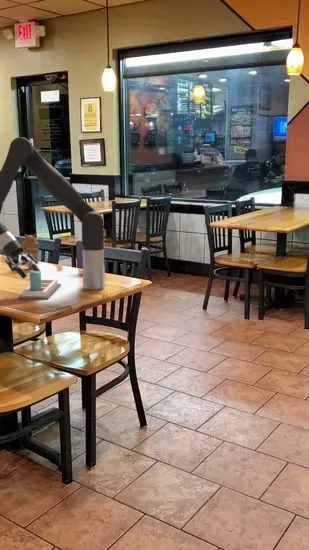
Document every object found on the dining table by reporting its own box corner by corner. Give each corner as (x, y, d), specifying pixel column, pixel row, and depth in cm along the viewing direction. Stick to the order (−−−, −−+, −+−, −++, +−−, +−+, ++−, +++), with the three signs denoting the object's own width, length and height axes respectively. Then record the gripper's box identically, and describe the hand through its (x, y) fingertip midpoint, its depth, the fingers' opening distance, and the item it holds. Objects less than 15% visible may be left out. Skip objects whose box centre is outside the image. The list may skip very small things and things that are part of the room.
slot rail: (60, 285, 239) (60, 279, 238) (48, 299, 214) (47, 292, 214) (34, 284, 239) (34, 278, 238) (18, 298, 214) (18, 292, 214)
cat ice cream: (21, 269, 272) (20, 234, 268) (24, 267, 279) (22, 232, 276) (39, 269, 273) (38, 234, 269) (41, 266, 280) (40, 232, 276)
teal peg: (42, 292, 221) (41, 271, 219) (40, 295, 217) (39, 273, 215) (32, 292, 221) (31, 271, 219) (29, 294, 217) (28, 273, 215)
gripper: (1, 241, 213) (25, 272, 210) (25, 237, 225) (48, 266, 223) (-8, 253, 216) (15, 284, 214) (16, 248, 229) (38, 277, 226)
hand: (32, 275), depth 218 cm, fingers open, 8 cm apart
